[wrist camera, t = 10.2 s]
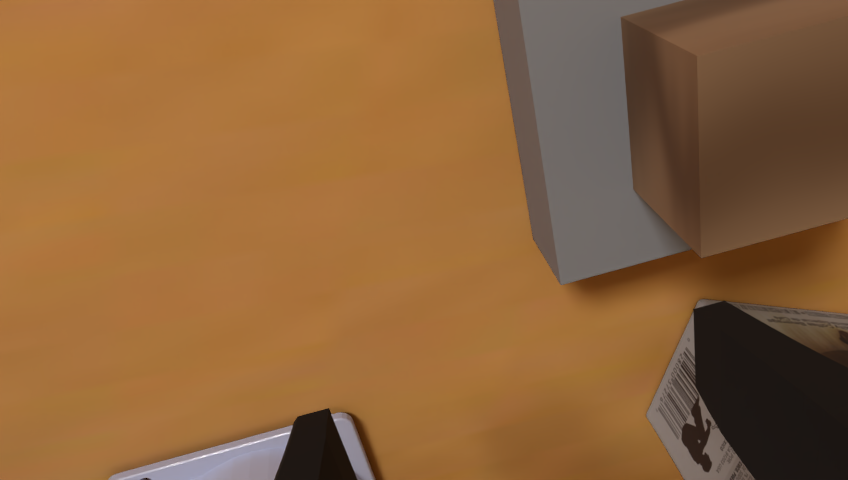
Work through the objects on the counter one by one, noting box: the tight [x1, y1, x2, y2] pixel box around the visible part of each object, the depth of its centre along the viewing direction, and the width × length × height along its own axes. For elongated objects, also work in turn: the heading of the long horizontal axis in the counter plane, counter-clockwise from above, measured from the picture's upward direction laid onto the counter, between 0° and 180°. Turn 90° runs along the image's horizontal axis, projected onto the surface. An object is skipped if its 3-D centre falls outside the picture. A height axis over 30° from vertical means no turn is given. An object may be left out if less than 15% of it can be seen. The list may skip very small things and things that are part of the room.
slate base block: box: [494, 0, 692, 285], centre depth 20 cm, size 10×10×3 cm
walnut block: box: [621, 0, 848, 258], centre depth 17 cm, size 5×5×4 cm
